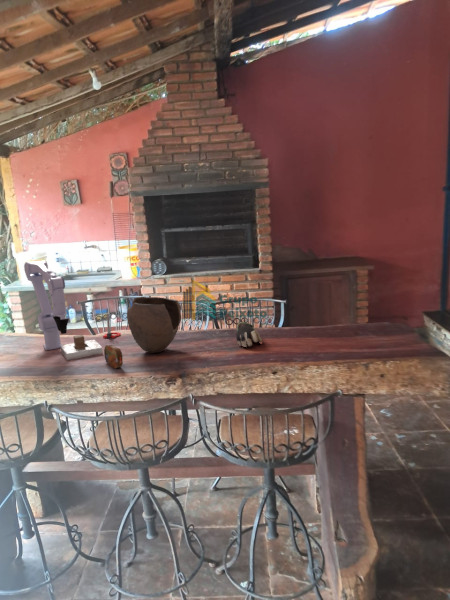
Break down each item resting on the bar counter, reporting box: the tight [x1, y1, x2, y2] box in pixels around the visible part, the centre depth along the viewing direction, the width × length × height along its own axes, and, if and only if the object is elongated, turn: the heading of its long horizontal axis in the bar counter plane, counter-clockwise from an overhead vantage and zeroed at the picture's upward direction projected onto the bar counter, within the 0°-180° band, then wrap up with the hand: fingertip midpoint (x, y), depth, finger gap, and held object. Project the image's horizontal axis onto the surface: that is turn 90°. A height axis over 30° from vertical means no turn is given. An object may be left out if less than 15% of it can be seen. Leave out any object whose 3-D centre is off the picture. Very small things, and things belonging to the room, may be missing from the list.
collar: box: [60, 339, 104, 361], centre depth 212 cm, size 16×16×3 cm
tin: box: [103, 344, 124, 369], centre depth 191 cm, size 15×3×8 cm, turn 35°
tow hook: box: [102, 313, 122, 339], centre depth 238 cm, size 8×13×9 cm
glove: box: [235, 321, 263, 348], centre depth 216 cm, size 12×10×25 cm
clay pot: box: [126, 296, 182, 354], centre depth 206 cm, size 24×24×25 cm
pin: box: [73, 334, 86, 349], centre depth 211 cm, size 4×4×8 cm
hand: (62, 332), depth 210 cm, fingers open, 7 cm apart
